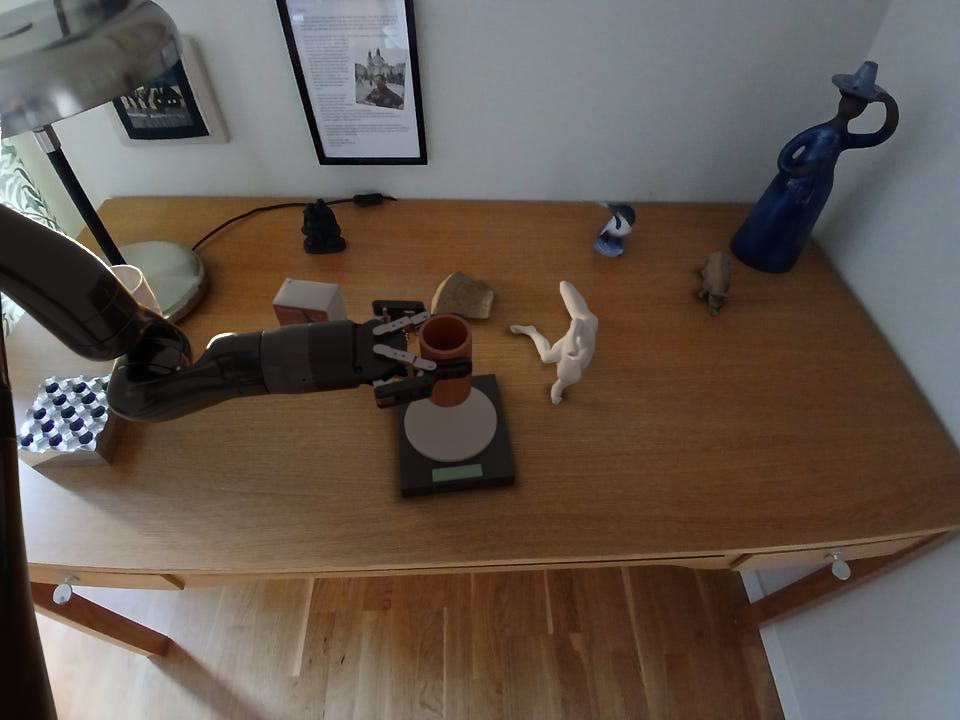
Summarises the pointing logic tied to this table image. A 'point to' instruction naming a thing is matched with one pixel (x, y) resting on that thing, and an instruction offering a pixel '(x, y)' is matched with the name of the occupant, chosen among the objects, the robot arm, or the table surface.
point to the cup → (447, 355)
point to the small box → (308, 302)
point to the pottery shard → (463, 297)
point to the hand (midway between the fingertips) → (467, 343)
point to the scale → (454, 443)
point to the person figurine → (568, 341)
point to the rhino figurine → (716, 280)
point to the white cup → (136, 286)
